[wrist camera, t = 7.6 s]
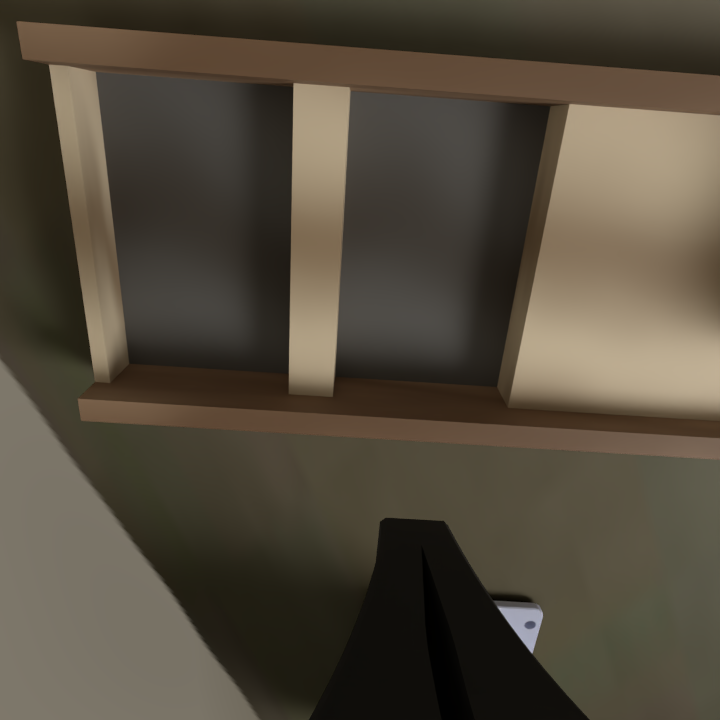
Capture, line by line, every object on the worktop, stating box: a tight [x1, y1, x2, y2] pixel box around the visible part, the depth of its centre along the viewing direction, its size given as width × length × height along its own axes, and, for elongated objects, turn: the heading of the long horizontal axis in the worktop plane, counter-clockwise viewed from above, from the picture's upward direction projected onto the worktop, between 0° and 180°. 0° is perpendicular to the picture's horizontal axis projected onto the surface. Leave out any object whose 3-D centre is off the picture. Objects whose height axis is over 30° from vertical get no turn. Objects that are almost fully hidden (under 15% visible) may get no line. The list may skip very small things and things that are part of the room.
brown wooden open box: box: [16, 21, 720, 460], centre depth 16 cm, size 11×30×4 cm, turn 86°
